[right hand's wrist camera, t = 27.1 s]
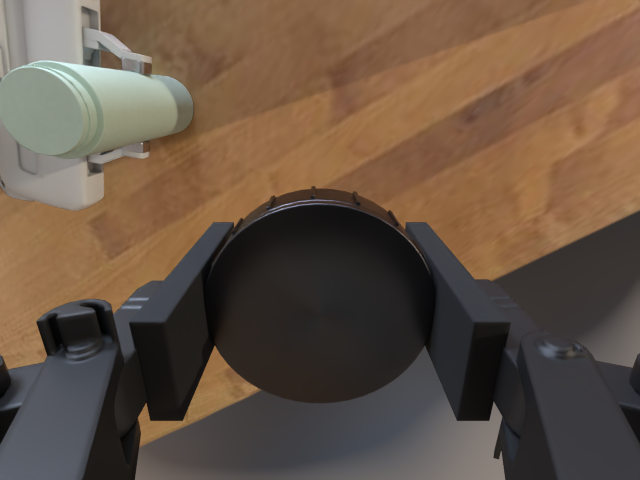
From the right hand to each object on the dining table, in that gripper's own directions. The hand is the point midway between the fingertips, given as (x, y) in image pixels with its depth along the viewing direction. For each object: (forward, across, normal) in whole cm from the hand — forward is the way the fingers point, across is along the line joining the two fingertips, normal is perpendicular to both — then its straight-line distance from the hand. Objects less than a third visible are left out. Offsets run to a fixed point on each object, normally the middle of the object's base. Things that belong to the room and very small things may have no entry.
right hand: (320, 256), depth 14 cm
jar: (+27, +16, -5) cm, 32 cm away
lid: (-4, 0, 0) cm, 4 cm away
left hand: (+21, +15, -5) cm, 26 cm away
